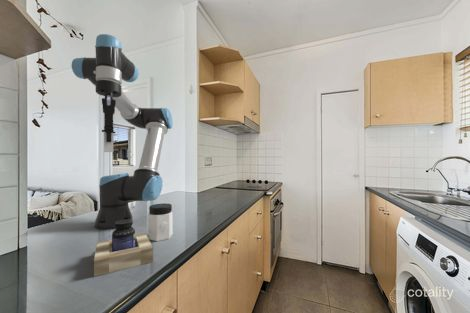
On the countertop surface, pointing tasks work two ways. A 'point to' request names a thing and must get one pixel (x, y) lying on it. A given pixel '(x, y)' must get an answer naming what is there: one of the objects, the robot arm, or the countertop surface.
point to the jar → (160, 222)
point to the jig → (122, 256)
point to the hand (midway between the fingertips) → (108, 151)
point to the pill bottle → (123, 235)
